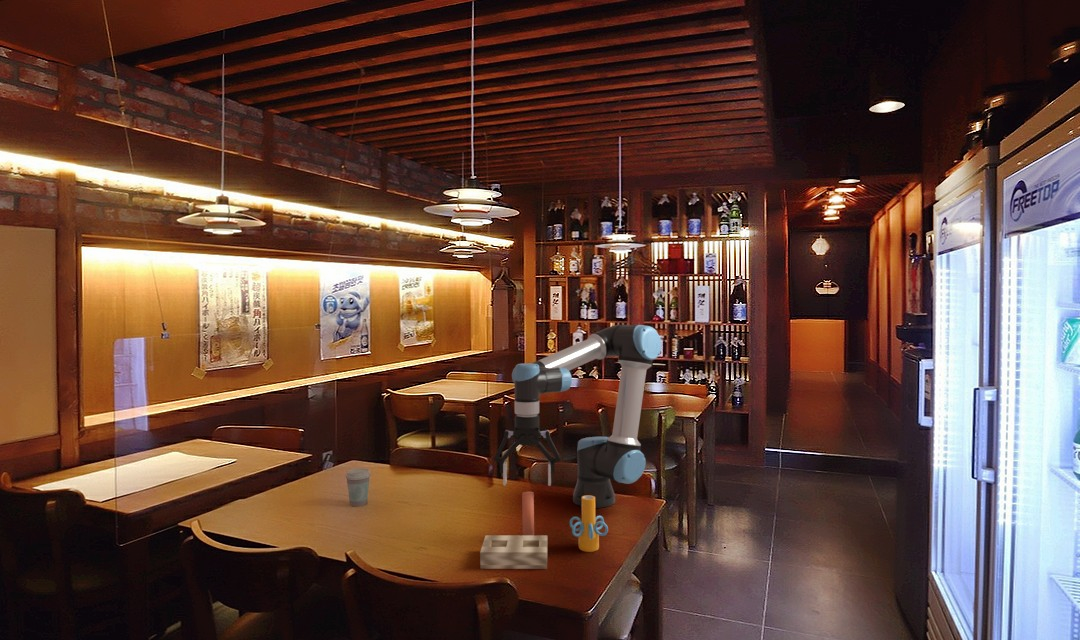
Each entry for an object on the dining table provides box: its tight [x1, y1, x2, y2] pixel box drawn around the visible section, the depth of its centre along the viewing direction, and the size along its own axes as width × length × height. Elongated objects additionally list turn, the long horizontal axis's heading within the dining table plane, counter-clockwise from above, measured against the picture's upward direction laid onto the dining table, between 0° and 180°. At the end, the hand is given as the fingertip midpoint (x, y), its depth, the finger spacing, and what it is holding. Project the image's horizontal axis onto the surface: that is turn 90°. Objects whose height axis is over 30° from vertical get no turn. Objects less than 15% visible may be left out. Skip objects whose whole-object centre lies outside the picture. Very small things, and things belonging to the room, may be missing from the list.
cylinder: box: [569, 495, 609, 553], centre depth 178 cm, size 12×10×15 cm
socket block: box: [479, 534, 549, 570], centre depth 171 cm, size 18×12×4 cm, turn 88°
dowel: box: [521, 491, 535, 535], centre depth 186 cm, size 4×4×14 cm
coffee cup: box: [345, 467, 371, 508], centre depth 220 cm, size 8×8×12 cm
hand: (527, 484), depth 185 cm, fingers open, 13 cm apart
